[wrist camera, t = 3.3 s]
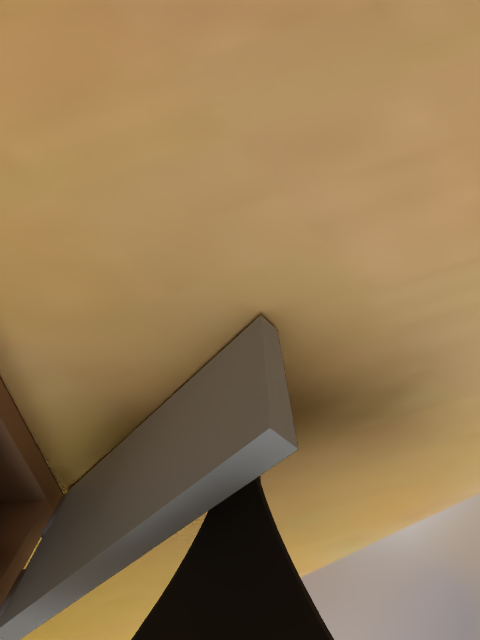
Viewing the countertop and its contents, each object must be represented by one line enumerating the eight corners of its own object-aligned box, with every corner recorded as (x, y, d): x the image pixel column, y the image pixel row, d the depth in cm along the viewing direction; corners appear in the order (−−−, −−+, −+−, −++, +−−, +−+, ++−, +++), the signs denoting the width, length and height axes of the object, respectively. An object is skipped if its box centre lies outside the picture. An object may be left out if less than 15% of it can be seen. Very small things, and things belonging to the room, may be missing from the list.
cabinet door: (59, 496, 15) (-22, 640, 10) (258, 313, 11) (265, 425, 6) (87, 510, 15) (21, 655, 11) (289, 341, 11) (317, 463, 7)
